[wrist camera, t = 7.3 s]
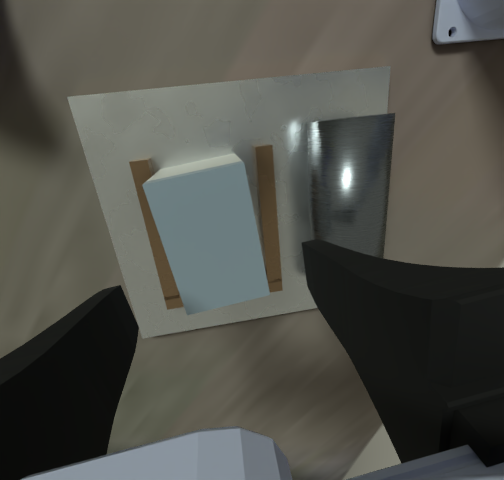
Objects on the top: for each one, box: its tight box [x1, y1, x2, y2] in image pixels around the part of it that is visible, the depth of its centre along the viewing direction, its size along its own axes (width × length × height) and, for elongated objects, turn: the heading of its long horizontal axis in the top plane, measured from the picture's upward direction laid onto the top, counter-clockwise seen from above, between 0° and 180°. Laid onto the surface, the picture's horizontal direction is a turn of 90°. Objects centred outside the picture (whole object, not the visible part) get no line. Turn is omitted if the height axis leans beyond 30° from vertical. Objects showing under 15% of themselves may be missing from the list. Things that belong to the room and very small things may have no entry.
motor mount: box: [67, 66, 395, 338], centre depth 17 cm, size 18×16×5 cm
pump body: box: [142, 153, 270, 315], centre depth 16 cm, size 4×7×5 cm, turn 11°
